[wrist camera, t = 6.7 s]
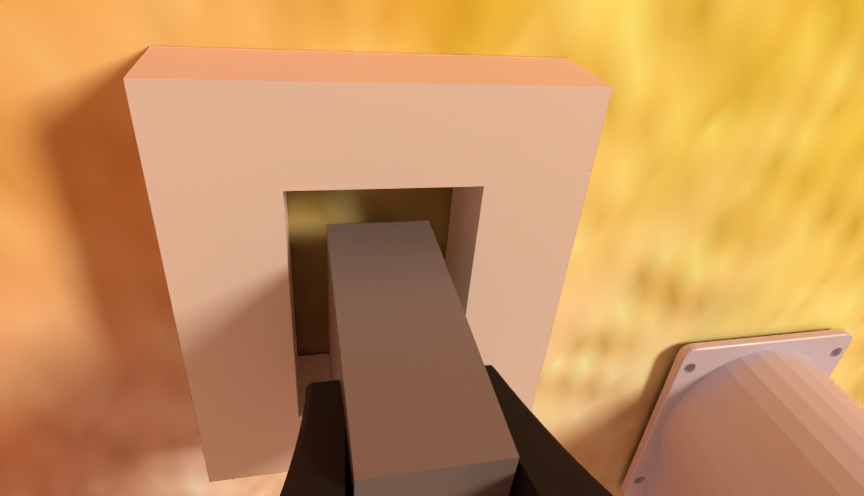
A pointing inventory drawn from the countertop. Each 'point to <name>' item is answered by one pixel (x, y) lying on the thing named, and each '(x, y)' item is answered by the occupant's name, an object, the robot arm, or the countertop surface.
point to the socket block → (347, 170)
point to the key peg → (410, 370)
